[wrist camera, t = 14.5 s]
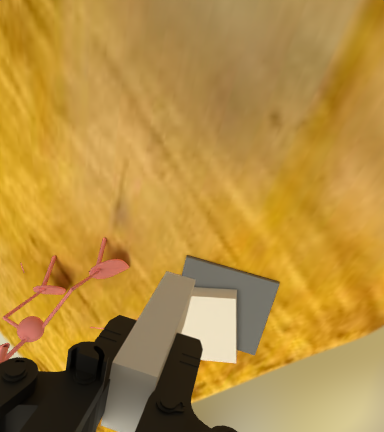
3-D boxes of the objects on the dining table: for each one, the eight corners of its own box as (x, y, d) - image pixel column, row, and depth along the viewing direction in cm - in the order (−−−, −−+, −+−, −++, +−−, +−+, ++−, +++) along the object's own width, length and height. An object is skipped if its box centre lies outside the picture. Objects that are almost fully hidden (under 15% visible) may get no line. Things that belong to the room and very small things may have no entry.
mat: (187, 255, 48) (186, 256, 47) (279, 281, 46) (279, 284, 46) (170, 325, 51) (169, 328, 51) (254, 352, 50) (254, 355, 49)
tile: (236, 363, 47) (166, 356, 49) (237, 350, 50) (170, 344, 52) (235, 298, 44) (161, 294, 46) (237, 289, 47) (166, 285, 49)
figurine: (9, 266, 54) (-374, 514, 21) (152, 214, 47) (-91, 467, 14) (54, 345, 57) (-215, 665, 25) (194, 308, 50) (77, 688, 17)
